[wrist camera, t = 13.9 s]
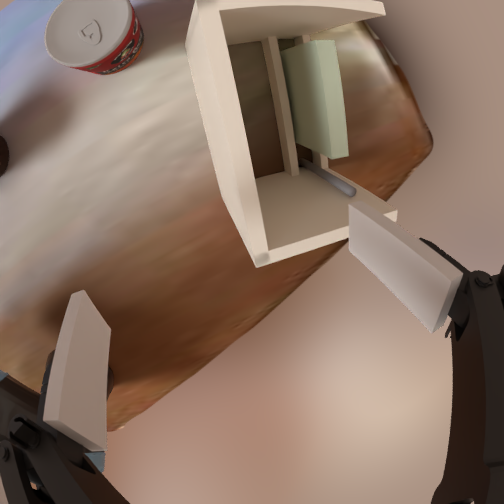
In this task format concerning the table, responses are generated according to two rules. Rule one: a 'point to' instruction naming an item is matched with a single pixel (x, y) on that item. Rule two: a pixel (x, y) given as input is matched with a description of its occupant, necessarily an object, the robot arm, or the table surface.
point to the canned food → (94, 35)
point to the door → (316, 97)
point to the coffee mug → (3, 155)
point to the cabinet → (233, 132)
